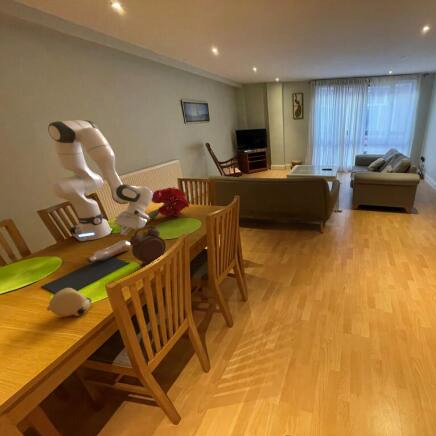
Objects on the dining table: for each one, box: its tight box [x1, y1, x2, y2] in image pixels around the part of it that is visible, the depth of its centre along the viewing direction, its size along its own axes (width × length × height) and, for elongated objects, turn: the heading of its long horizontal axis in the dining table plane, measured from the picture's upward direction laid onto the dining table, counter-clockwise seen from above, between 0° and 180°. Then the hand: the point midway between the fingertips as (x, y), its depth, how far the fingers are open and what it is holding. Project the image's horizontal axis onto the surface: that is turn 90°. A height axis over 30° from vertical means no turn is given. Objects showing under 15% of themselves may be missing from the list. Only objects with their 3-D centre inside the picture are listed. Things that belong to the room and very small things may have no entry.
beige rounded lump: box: [46, 288, 93, 319], centre depth 91 cm, size 10×12×11 cm
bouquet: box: [146, 186, 190, 220], centre depth 180 cm, size 22×24×30 cm
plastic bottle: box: [86, 239, 132, 264], centre depth 129 cm, size 6×7×20 cm
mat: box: [41, 257, 129, 295], centre depth 116 cm, size 18×28×1 cm, turn 156°
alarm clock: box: [129, 225, 166, 266], centre depth 122 cm, size 15×7×20 cm, turn 150°
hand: (122, 234), depth 134 cm, fingers closed
